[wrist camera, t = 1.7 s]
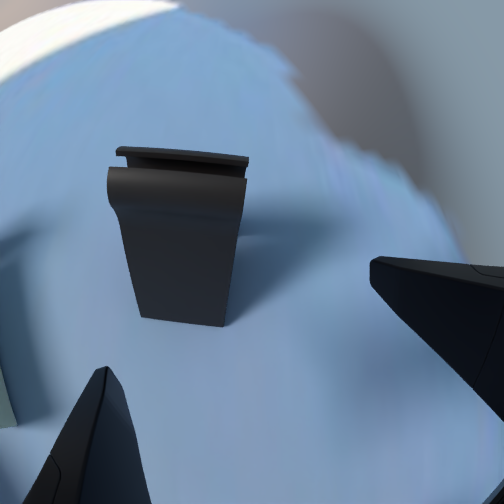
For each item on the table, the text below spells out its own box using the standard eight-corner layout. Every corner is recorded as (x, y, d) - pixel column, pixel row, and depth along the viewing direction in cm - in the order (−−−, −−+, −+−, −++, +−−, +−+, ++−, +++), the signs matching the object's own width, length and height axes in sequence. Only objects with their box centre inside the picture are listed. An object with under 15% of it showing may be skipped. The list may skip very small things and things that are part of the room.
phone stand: (162, 210, 25) (141, 94, 14) (234, 218, 25) (255, 104, 14) (141, 317, 21) (79, 252, 10) (223, 328, 22) (238, 273, 11)
